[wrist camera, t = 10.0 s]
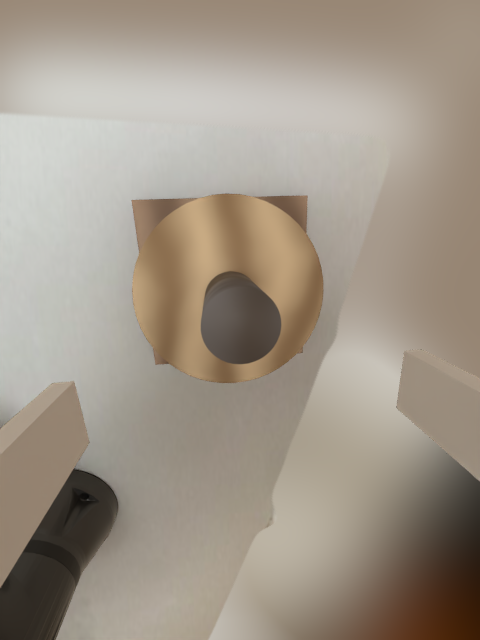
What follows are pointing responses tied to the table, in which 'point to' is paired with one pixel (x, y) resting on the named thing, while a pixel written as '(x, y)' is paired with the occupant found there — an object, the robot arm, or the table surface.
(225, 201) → the lid
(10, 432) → the robot arm
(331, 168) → the table surface
